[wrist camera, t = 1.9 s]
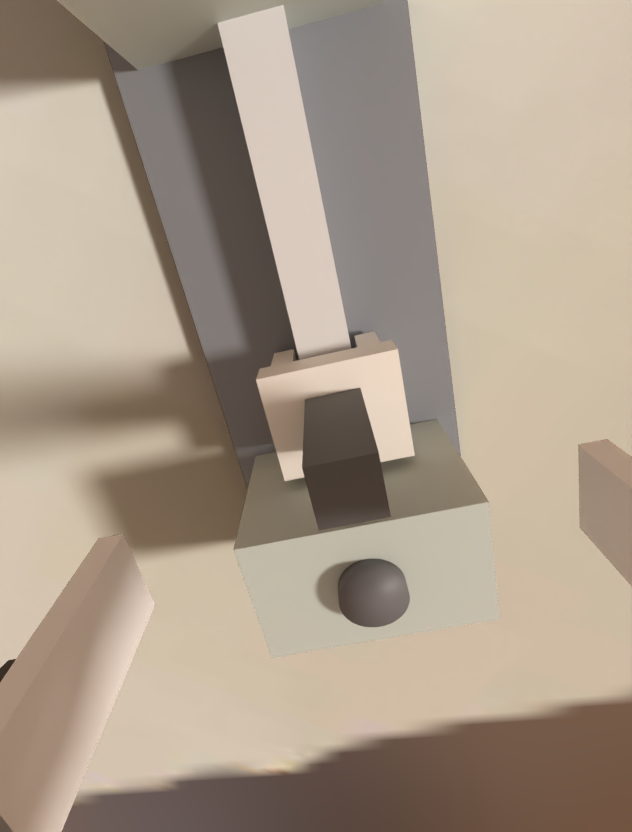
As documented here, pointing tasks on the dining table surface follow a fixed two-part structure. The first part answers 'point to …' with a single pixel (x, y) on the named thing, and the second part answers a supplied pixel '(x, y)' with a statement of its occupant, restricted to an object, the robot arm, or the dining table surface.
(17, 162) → the dining table surface
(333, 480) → the block
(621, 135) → the dining table surface
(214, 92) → the rail fixture
